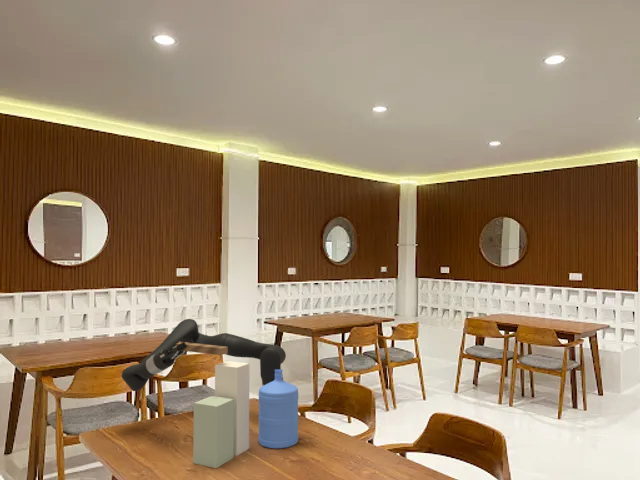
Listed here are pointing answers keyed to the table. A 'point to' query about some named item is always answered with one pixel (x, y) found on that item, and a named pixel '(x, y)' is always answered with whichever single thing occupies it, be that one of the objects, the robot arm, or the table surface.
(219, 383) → the off-white stand
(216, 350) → the walnut plank
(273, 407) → the water jug
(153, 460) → the table surface
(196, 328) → the robot arm
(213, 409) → the sage step
